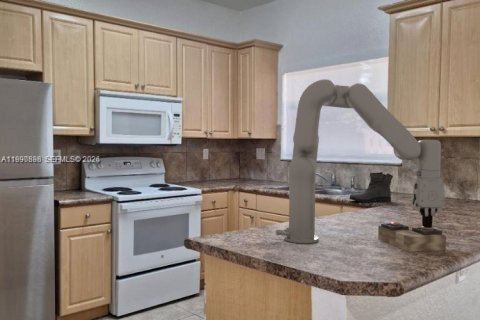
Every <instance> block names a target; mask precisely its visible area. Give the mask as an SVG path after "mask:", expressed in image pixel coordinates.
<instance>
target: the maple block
mask: <svg viewBox="0 0 480 320" xmlns="http://www.w3.org/2000/svg"><path fill="white" fill-rule="evenodd" d="M377 231H378V232H377V233H378V235H377V239H378V240H380V241H383V242H385V243H386V244H387V243H388V244H390V245H392V246H395V247H396V248H399V249H402V250H403V251H406V252H409V253H410V252H429V251H430V252H431V251H436V252H437V251H446V250H447V249H446V247H447V236H446V235H445V234H443V230H440V229H437V228H434V227H433V231H424V230H421V226H416V225H414V224H413V225H412V224H401V226H393V227H392V226H389V222H388V223H380V225H378V230H377Z"/></svg>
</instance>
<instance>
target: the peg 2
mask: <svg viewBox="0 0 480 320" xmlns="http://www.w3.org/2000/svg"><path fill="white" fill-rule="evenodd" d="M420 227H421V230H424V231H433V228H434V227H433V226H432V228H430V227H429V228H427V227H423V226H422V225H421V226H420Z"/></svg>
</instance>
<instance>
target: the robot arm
mask: <svg viewBox="0 0 480 320" xmlns="http://www.w3.org/2000/svg"><path fill="white" fill-rule="evenodd" d="M323 106H324V107H332V108H339V109H341V108H342V109H353V110H354V111H355V113H357V115H359V117H360V118H361V119H362V121H364V122H365V124H366V125H367V126H368V127H369V128H370V129H371V130H372V131H373V132H375V133H377V134H378V135H380V136H381V137H382V138H383V139H384V140H385V141H387V143H388V144H389V145H390V146H391V147H392V149H393V150H392V151H393V154H394V155H395V157H396V158H398V159H399V160H402V161H408V162H410V161H414V160H416V171H414V173H413V174H414V176H416V178H415V179H414V183H413V189H412V195H411V196H412V201H411V202H412V205H413V207H412V211H417V212H419V214H420V216H422V217H421V224H422V225H421V226H423V227H427V228H429V227H430V228H432V227H433V223H434V222H433V219H434V216H435V215H436V213H437V212H439V211H442V209H443V207H445V205H446V204H445V203H446V200H445V199H446V197H445V186H444V181H443V179H442V178H441V158H442V157H441V152H442V148H441V147H442V144H441V141H440V140H439V139H421V140H417V139H416V138H415V137H414V135H413V134H412V133H411V132H410V131H409V130H408V129H407V128H406V127H405V125H403V124H402V122H400V120H398V119H397V118H396V117H395V115H393V114H392V113H391V112H390V111H389V110H388V108H387V107H385V106H384V104H383V103H382V102H381V101H380V100H379V99H378V98H377V96H376V95H375V94H374V93H373V92H372V91H371V90H370V89H369V88H368V87H367V85H365V84H364V83H361V82H356V83H353V84H351V85H339V84H335V82H334V81H333V80H331V79H329V78H327V79H326V78H325V79H324V78H323V79H319V80H317V81H313V82H312V83H311V84H310V85H308V86H307V87H305V89H304V90H303V92H302V93H301V95H300V97H299V100H298V103H297V110H296V118H295V127H294V133H293V137H292V138H293V139H292V141H293V148H292V159H291V161H290V163H289V167H288V181H289V183H288V187H289V188H288V203H289V204H288V205H289V206H288V226H286V228H284V229H276V230H275V234H276V236H284V240H285V241H286V242H289V243H294V244H314V243H318V242H319V237H318V235H315V230H316V229H315V227H316V226H315V225H316V224H315V222H316V172H317V160H318V152H319V151H318V150H319V143H320V136H319V125H320V119H321V110H322V107H323Z"/></svg>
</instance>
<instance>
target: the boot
mask: <svg viewBox="0 0 480 320" xmlns="http://www.w3.org/2000/svg"><path fill="white" fill-rule="evenodd" d="M393 177H394V175H393V174H390V173H386V174H385V173H384V172H382V171H380V172H370V173H369V178H370V179H369V183H368V186H367V188H366V189H365V190H364V191H362V192H360V193H351V194H350V196H349V200H352V201H355V202H361V203H372V202H375V201H376V202H379V203H391V202H392V197H391V196H392V193H391V185H392V184H391V183H392V179H394V178H393Z"/></svg>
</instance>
